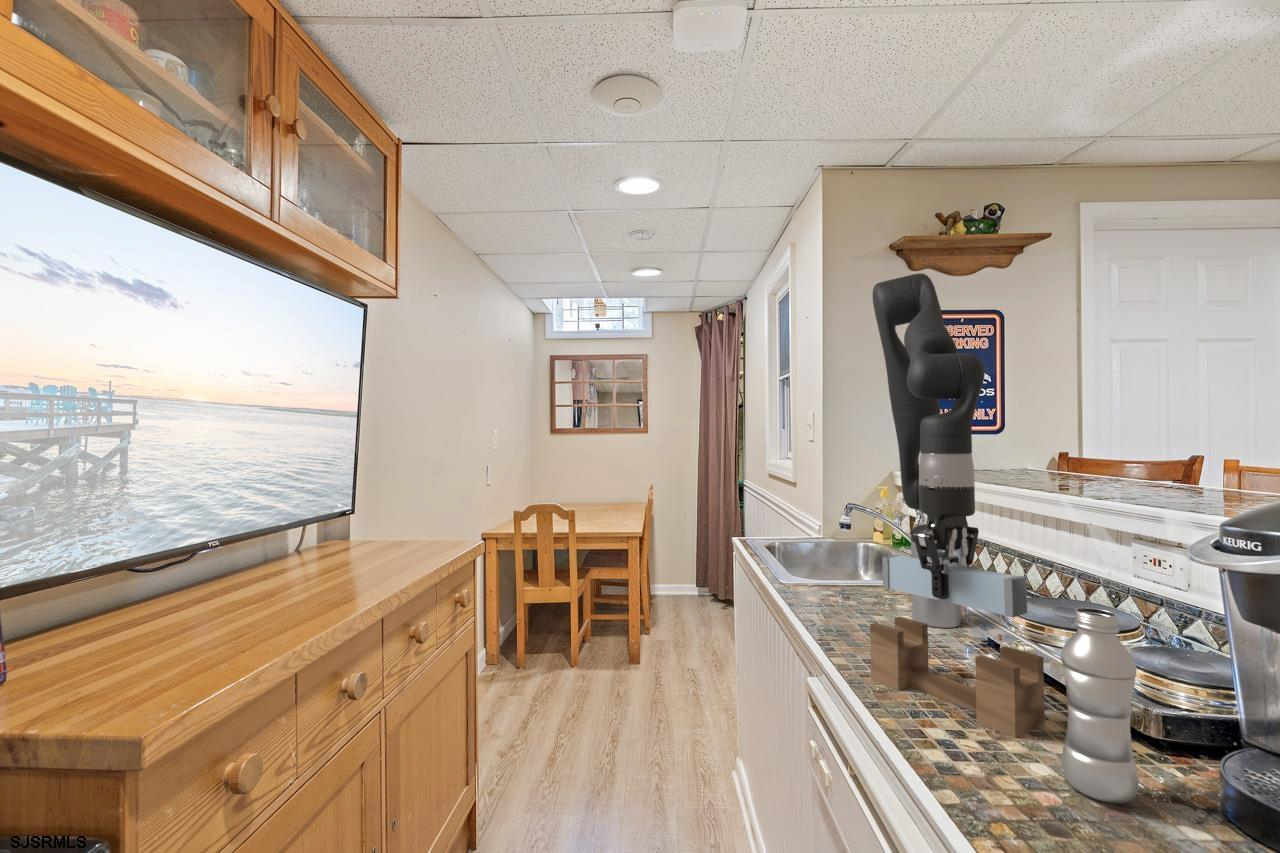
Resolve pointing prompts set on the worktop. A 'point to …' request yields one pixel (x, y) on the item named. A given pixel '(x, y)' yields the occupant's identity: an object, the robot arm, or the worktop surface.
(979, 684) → the wooden notched stand
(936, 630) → the worktop surface
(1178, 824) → the worktop surface
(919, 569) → the rail
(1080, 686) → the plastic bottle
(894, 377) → the robot arm
